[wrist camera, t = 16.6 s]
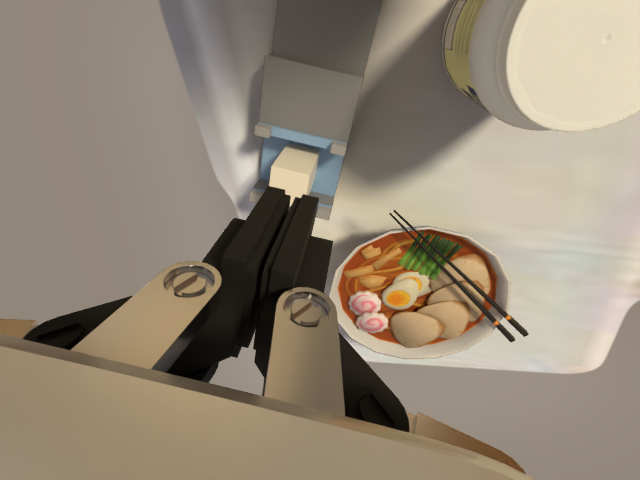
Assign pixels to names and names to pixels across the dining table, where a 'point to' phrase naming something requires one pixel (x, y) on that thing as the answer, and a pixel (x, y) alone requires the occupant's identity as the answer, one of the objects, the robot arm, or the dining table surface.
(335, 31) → the grey tiered shelf stand
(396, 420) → the robot arm
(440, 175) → the dining table surface
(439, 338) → the ramen bowl
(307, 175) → the plug
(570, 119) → the supplement tub
